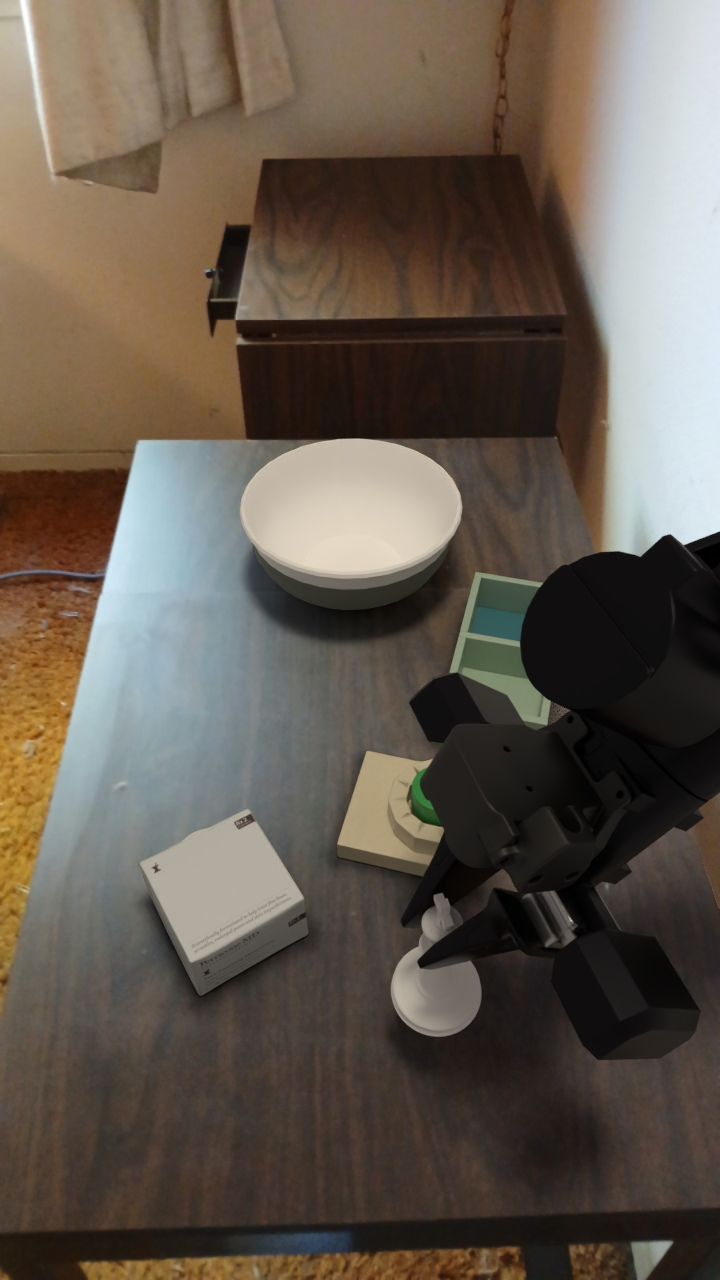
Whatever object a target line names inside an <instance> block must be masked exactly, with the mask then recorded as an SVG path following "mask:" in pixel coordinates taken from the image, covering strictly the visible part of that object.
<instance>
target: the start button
mask: <svg viewBox="0 0 720 1280" xmlns="http://www.w3.org/2000/svg"><path fill="white" fill-rule="evenodd" d="M427 768H428V767H427ZM427 768H424V769H423V770H421V771H420V772H419V773H418V774H417V775H416V776H415V778H414V780H413V782H412V793H411V805H412V808H413V810H414V812H415V813H416V814H417V816H418V817H420V818H421V819H422V820H424V821H426V822H428V823H431V824H437V825H441V823H440V821H439V819H438V817H437V815H436V813H435V811H434V809H433V806H432V804H431V802H430V801H429V800H426V799H425V797H424V795H423V793H422V791H421V788H420V779H421V777H422V775H423V774H424V772H425V771H426V769H427Z"/></svg>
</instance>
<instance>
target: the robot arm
mask: <svg viewBox="0 0 720 1280" xmlns="http://www.w3.org/2000/svg"><path fill="white" fill-rule="evenodd" d="M542 583H543V584H542V585H541V586H540V588H539V589H538V590H537V592H536V593H535V595H534V597H533V599H532V601H531V602H530V604H529V606H528V608H527V611H526V614H525V617H524V620H523V623H522V628H521V637H520V651H521V661H522V663H523V666H524V669H525V672H526V675H527V677H528V679H529V681H530V682H531V684H532V685H533V687H534V688H535V689H536V690H537V691H538V692H540V693H541V694H542V695H543V696H544V697H545V698H546V699H548V700H550V701H551V703H554V704H556V705H558V706H559V707H562V708H564V709H566V710H568V711H567V712H565V713H564V714H563V715H561V717H559V718H558V719H557V720H556V721H554V722H551V723H550V724H548V725H547V726H545V727H543V728H540V729H538V730H535V729H532V728H530V727H528V726H526V725H525V723H524V721H523V720H522V718H521V717H520V715H519V713H518V712H517V710H516V708H515V707H514V705H513V704H512V702H511V700H510V699H509V697H508V695H506V694H504V693H502V692H499V691H497V690H495V689H493V688H491V687H488V686H486V685H484V684H482V683H480V682H478V681H475V680H473V679H471V678H469V677H467V676H464V675H462V674H460V673H458V672H455V673H449V672H447V673H443V674H440V675H436V676H433V677H432V678H431V679H430V680H428V682H427V683H425V685H423V686H422V687H421V688H420V689H419V690H418V691H417V692H416V693H415V694H414V695H412V697H411V699H410V700H409V702H408V704H409V706H410V709H411V710H412V713H413V714H414V716H415V718H416V720H417V722H418V724H419V726H420V729H421V730H422V731H423V734H424V736H425V738H426V740H427V742H429V743H431V744H435V745H441V746H440V748H439V749H438V751H437V752H436V754H435V755H434V757H433V758H432V759H433V760H432V762H431V763H430V765H429V766H428V768H427V769H426V771H425V772H424V774H423V775H422V777H421V779H420V788H421V791H422V793H423V795H424V797H425V799H426V800H429V801H430V802H431V804H432V806H433V809H434V811H435V813H436V815H437V817H438V819H439V821H440V823H441V825H442V827H443V829H444V832H443V835H442V837H441V840H440V842H439V845H438V847H437V849H436V852H435V854H434V856H433V858H432V860H431V862H430V864H429V866H428V868H427V870H426V872H425V873H424V875H423V876H421V879H420V881H419V883H418V885H417V887H416V888H415V890H414V893H413V895H412V896H411V898H410V900H409V902H408V903H407V906H406V908H405V909H404V911H403V913H402V915H401V917H400V924H401V927H402V928H403V929H408V930H416V929H419V928H420V927H422V925H421V922H422V917H423V915H424V913H425V912H426V911H427V910H428V909H429V908H430V907H432V906H434V905H435V902H434V895H436V894H440V893H443V895H444V898H445V899H446V898H448V901H449V904H450V906H451V907H453V906H455V905H456V904H458V902H460V901H461V900H463V899H464V898H465V897H467V896H468V895H469V894H471V893H472V892H473V891H474V890H476V889H478V888H479V887H480V886H481V885H483V884H484V883H485V882H487V881H488V880H489V879H491V878H492V877H494V875H496V874H497V873H499V872H500V871H502V870H503V871H505V873H506V874H507V875H508V876H509V878H510V880H511V882H512V884H513V887H514V888H515V890H516V891H515V890H510V889H505V888H499V887H493V888H492V889H491V892H490V894H489V898H488V900H487V904H486V906H485V907H484V908H483V909H482V910H480V911H479V912H478V913H476V914H475V915H474V916H472V917H470V918H469V919H468V920H466V921H465V922H463V924H462V925H460V926H459V927H458V928H456V929H455V930H453V931H452V932H450V933H449V934H448V935H446V936H445V937H443V938H442V939H440V940H439V941H438V942H436V943H435V944H433V945H432V946H431V947H430V948H429V949H428V950H427V951H426V952H425V953H424V954H423V955H422V956H421V957H420V958H419V959H418V960H417V963H418V966H419V968H420V969H428V970H432V969H437V968H442V967H446V966H450V965H455V964H459V963H463V962H467V961H471V962H472V961H476V960H480V959H485V958H488V957H492V956H497V955H501V954H506V953H510V952H517V951H520V952H521V953H523V954H524V955H526V956H528V957H534V958H542V959H551V960H553V964H552V965H553V966H552V971H551V977H550V984H551V985H552V988H553V990H554V992H555V994H556V996H557V998H558V999H559V1002H560V1003H561V1005H562V1007H563V1010H564V1011H565V1013H566V1015H567V1017H568V1019H569V1021H570V1023H571V1025H572V1027H573V1029H574V1032H575V1033H576V1035H577V1037H578V1039H579V1041H580V1043H581V1045H582V1046H583V1048H585V1049H586V1050H587V1051H588V1052H589V1053H590V1054H591V1055H592V1056H593V1057H594V1058H595V1059H596V1060H597V1061H618V1060H623V1061H624V1060H658V1059H659V1060H660V1059H663V1057H665V1056H666V1055H668V1054H670V1053H671V1052H672V1051H674V1050H676V1049H677V1048H679V1047H680V1046H682V1045H684V1044H685V1043H686V1042H688V1041H690V1040H691V1039H692V1037H694V1035H695V1033H696V1031H697V1027H698V1024H699V1020H700V1016H701V1013H702V1010H701V1009H700V1008H699V1005H698V1004H697V1003H696V1000H695V999H694V997H693V996H692V995H691V993H690V991H689V990H688V988H687V986H686V985H685V983H684V981H683V979H682V978H681V976H680V974H679V973H678V972H677V970H676V968H675V966H674V965H673V963H672V962H671V960H670V958H669V957H668V955H667V954H666V951H665V950H664V949H663V947H662V945H661V944H660V942H659V940H658V939H657V937H656V936H653V935H647V934H642V933H637V932H630V931H624V930H622V928H621V927H620V925H619V923H618V921H617V920H616V918H615V917H614V915H613V913H612V912H611V910H610V908H609V906H608V905H607V902H606V901H605V898H603V896H602V895H601V893H600V891H598V889H597V886H599V885H600V884H601V883H602V882H603V883H608V884H612V885H617V884H618V883H620V882H621V881H622V880H624V879H625V878H626V877H628V876H629V875H630V874H632V873H633V871H632V870H631V868H630V866H629V865H628V863H630V861H631V860H633V859H634V858H635V857H637V856H638V855H640V854H641V853H642V852H643V851H644V850H646V849H648V847H649V848H650V847H651V845H653V844H654V843H655V842H657V841H658V840H659V839H660V838H662V837H663V836H665V835H667V834H668V832H670V831H671V830H673V829H674V828H675V829H678V830H680V831H683V832H687V831H689V830H690V829H692V828H693V827H694V826H695V825H697V824H698V823H700V822H701V821H702V820H704V819H705V817H704V816H703V814H702V813H701V812H700V810H699V809H700V808H701V807H703V806H704V805H706V804H707V803H708V802H709V801H710V800H712V799H714V797H716V796H718V794H720V530H719V531H717V532H714V533H711V534H708V535H706V536H703V537H701V538H698V539H696V540H694V541H690V542H688V543H685V544H683V543H682V542H680V540H678V539H677V538H676V537H675V536H674V535H673V534H671V533H670V534H665V535H662V536H661V537H660V538H659V539H658V540H657V541H656V542H655V543H653V544H652V545H651V546H650V547H649V548H648V549H647V550H646V551H645V552H644V553H643V554H642V555H641V556H639V555H637V554H633V553H629V552H625V551H620V550H615V551H613V550H612V551H599V552H596V553H592V554H588V555H585V556H582V557H580V558H578V559H576V560H575V561H573V562H571V563H569V564H562V565H560V566H559V567H558V568H557V569H555V570H554V571H553V572H552V573H551V574H550V575H548V577H546V579H545V580H544V582H542Z"/></svg>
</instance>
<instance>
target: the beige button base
mask: <svg viewBox="0 0 720 1280" xmlns="http://www.w3.org/2000/svg"><path fill="white" fill-rule="evenodd" d="M432 760H433V758H431V759H427V760H423V761H419V760H414V759H410V758H405V757H401V756H394V755H390V754H385V753H380V752H375V751H371V750H366V751H365V755H364V758H363V761H362V764H361V766H360V770H359V773H358V777H357V779H356V782H355V786H354V789H353V793H352V795H351V799H350V801H349V804H348V808H347V811H346V814H345V817H344V821H343V822H342V823H343V824H342V827H341V829H340V833H339V835H338V840H337V843H336V851H337V857H338V858H341V859H345V860H349V861H354V862H358V863H363V864H367V865H372V866H375V867H380V868H384V869H388V870H392V871H398V872H401V873H405V874H411V875H414V876H418V877H423V875H424V873H425V872H426V870H427V868H428V866H429V864H430V862H431V860H432V858H433V856H434V854H435V852H436V849H437V847H438V845H439V842H440V840H441V837H442V835H443V832H444V829H443V827H442V825H437V824H431V823H428V822H426V821H424V820H422V819H421V818H420V817H418V816H417V814H416V813H415V812H414V810H413V808H412V805H411V793H412V782H413V780H414V778H415V776H416V775H417V774H418V773H419V772H420V771H421V770H423V769H424V768H427V767H428V766H429V765H430V763H431V762H432Z"/></svg>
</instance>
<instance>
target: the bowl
mask: <svg viewBox="0 0 720 1280" xmlns="http://www.w3.org/2000/svg"><path fill="white" fill-rule="evenodd" d="M239 505H240V506H239V517H240V522H241V527H242V529H243V531H244V533H245V534H246V536H247V538H248V540H249V541H250V542H251V544H252V546H253V548H254V552H255V556H256V558H257V560H258V562H259V564H260V565H261V567H262V569H263V570H264V571H265V572H266V574H267V575H268V576H270V578H271V579H272V580H273V581H274V582H275V583H276V584H277V585H279V587H280V588H282V589H283V590H284V591H286V592H287V593H288V594H290V595H292V597H294V598H297V599H299V600H301V601H303V602H305V603H308V604H310V605H314V606H317V607H318V606H319V607H322V608H325V609H334V610H342V611H349V610H350V611H353V610H367V609H373V608H379V607H383V606H386V605H390V604H392V603H396V602H399V601H400V600H402V599H405V598H406V597H409V596H410V595H412V594H414V593H415V592H417V590H419V589H420V588H422V587H423V586H424V585H425V584H426V583H427V582H428V581H429V580H430V579H431V577H432V576H433V575H434V574H435V573H436V572H437V571H438V569H439V568H440V567H441V566H442V564H443V563H444V561H445V558H446V556H447V554H448V552H449V548H450V543H451V539H452V538H453V537H454V535H455V534H456V531H457V530H458V527H459V525H460V523H461V521H462V513H463V508H464V507H463V501H462V496H461V492H460V490H459V488H458V486H457V485H456V482H455V481H454V478H452V476H451V475H450V474H449V473H448V472H447V471H446V470H445V469H444V467H442V466H441V465H440V464H439V463H437V462H435V460H433V459H432V458H431V457H429V456H427V455H425V454H423V453H421V452H419V451H417V450H415V449H412V448H410V447H406V446H404V445H400V444H397V443H394V442H388V441H384V440H383V441H382V440H378V439H367V438H337V439H331V440H323V441H317V442H313V443H309V444H306V445H302V446H298V447H296V448H294V449H292V450H290V451H287V452H285V453H283V454H280V455H279V456H278V457H276V458H274V459H273V460H271V461H269V462H268V463H266V464H265V465H264V466H263V467H262V468H260V469H259V470H258V471H257V472H256V473H255V474H254V476H253V477H252V478H251V480H250V481H249V482H248V484H247V485H246V487H245V489H244V492H243V493H242V497H241V499H240V504H239Z"/></svg>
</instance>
